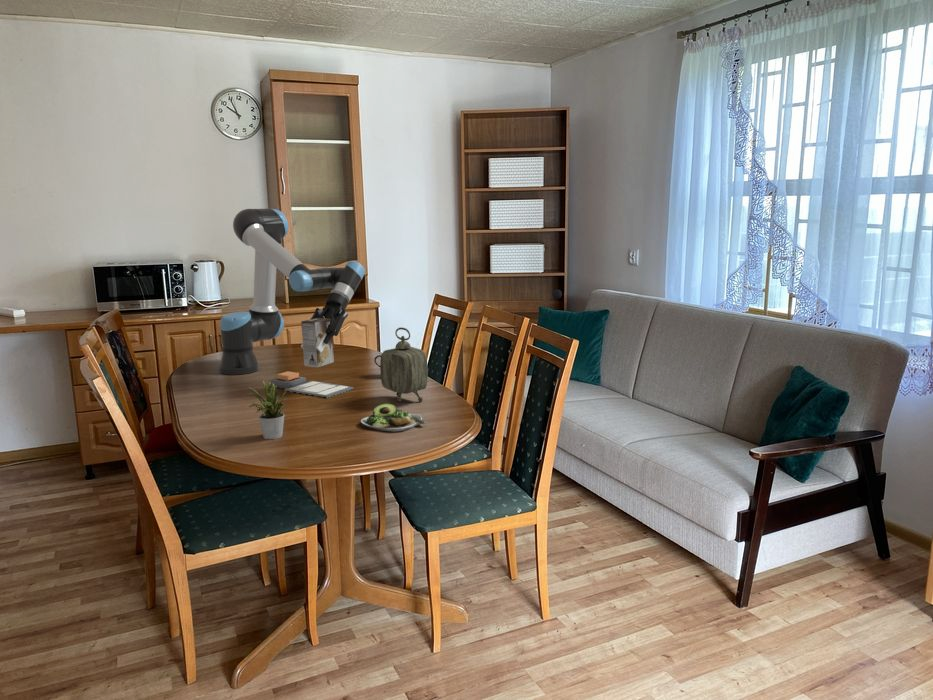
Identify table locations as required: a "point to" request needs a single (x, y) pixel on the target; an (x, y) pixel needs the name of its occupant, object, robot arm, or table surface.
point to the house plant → (270, 412)
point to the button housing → (288, 382)
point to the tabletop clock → (404, 368)
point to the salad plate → (391, 419)
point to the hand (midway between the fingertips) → (311, 349)
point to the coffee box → (316, 342)
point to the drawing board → (319, 389)
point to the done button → (287, 375)
